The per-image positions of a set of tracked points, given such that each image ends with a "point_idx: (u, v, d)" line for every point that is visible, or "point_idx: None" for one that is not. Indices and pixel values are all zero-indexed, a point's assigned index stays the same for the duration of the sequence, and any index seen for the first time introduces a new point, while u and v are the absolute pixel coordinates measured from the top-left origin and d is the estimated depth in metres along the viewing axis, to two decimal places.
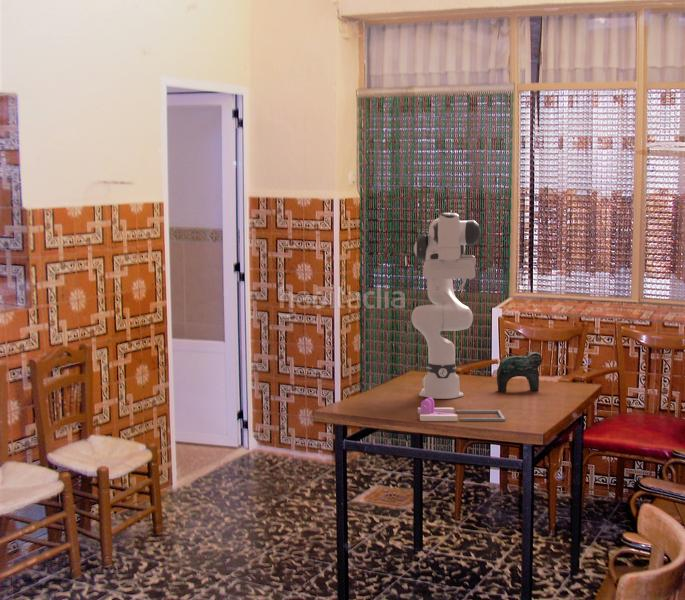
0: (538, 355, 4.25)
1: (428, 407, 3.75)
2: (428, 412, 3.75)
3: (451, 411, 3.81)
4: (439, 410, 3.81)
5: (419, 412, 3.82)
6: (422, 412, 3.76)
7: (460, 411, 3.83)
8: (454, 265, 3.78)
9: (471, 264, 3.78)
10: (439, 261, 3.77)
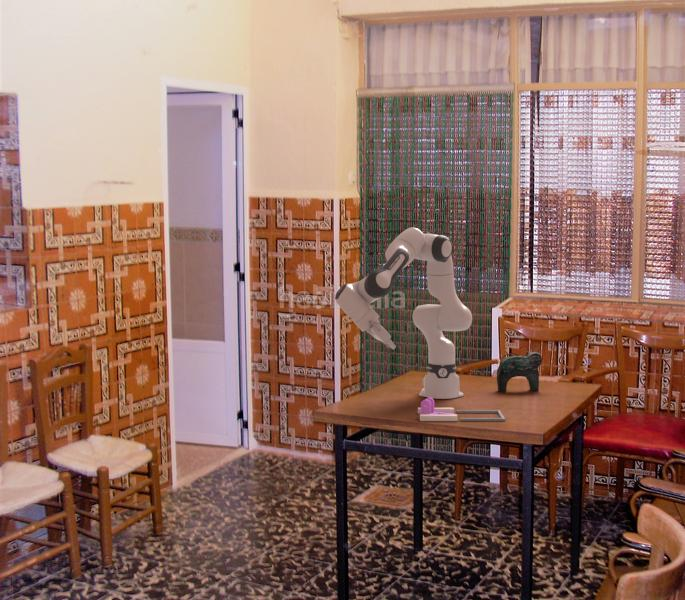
0: (538, 355, 4.25)
1: (428, 407, 3.75)
2: (428, 412, 3.75)
3: (451, 411, 3.81)
4: (439, 410, 3.81)
5: (419, 412, 3.82)
6: (422, 412, 3.76)
7: (460, 411, 3.83)
8: (372, 331, 3.70)
9: (374, 332, 3.64)
10: None
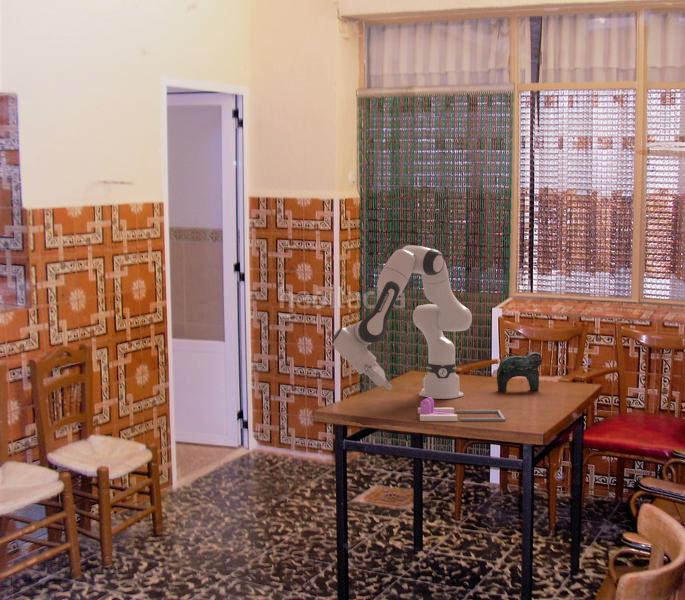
0: (538, 355, 4.25)
1: (428, 407, 3.75)
2: (428, 412, 3.75)
3: (451, 411, 3.81)
4: (439, 410, 3.81)
5: (419, 412, 3.82)
6: (422, 412, 3.76)
7: (460, 411, 3.83)
8: None
9: (369, 377, 3.67)
10: None
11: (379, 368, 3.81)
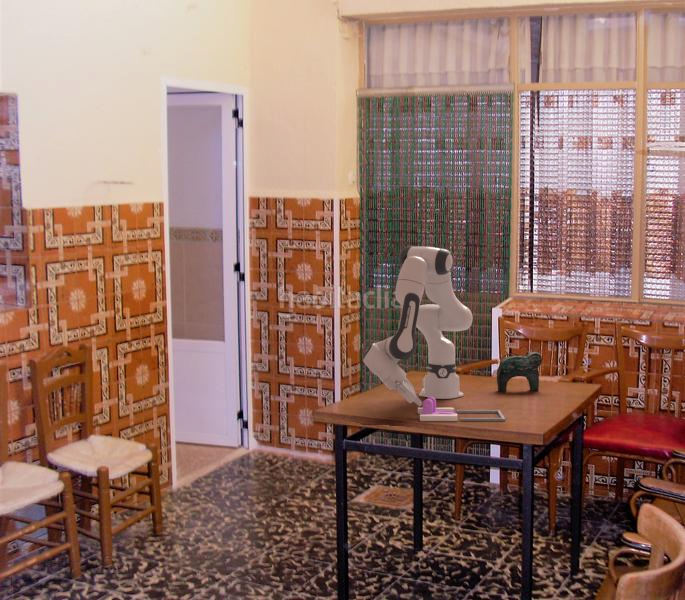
0: (538, 355, 4.25)
1: (430, 406, 3.75)
2: (430, 411, 3.75)
3: (451, 411, 3.81)
4: (439, 410, 3.81)
5: (419, 412, 3.82)
6: (424, 411, 3.76)
7: (460, 411, 3.83)
8: None
9: (400, 393, 3.67)
10: None
11: (409, 384, 3.81)
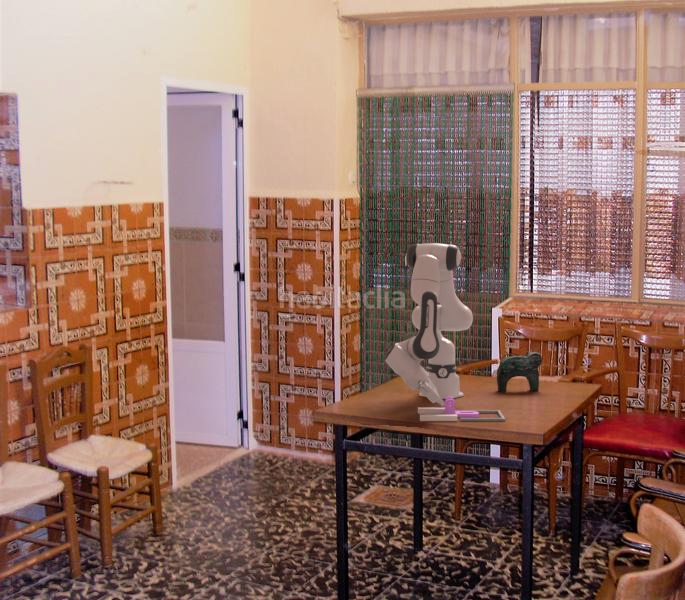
0: (538, 355, 4.25)
1: (453, 406, 3.75)
2: (453, 411, 3.75)
3: None
4: (439, 410, 3.81)
5: (419, 412, 3.82)
6: (447, 412, 3.75)
7: None
8: None
9: (423, 393, 3.67)
10: None
11: (431, 384, 3.81)
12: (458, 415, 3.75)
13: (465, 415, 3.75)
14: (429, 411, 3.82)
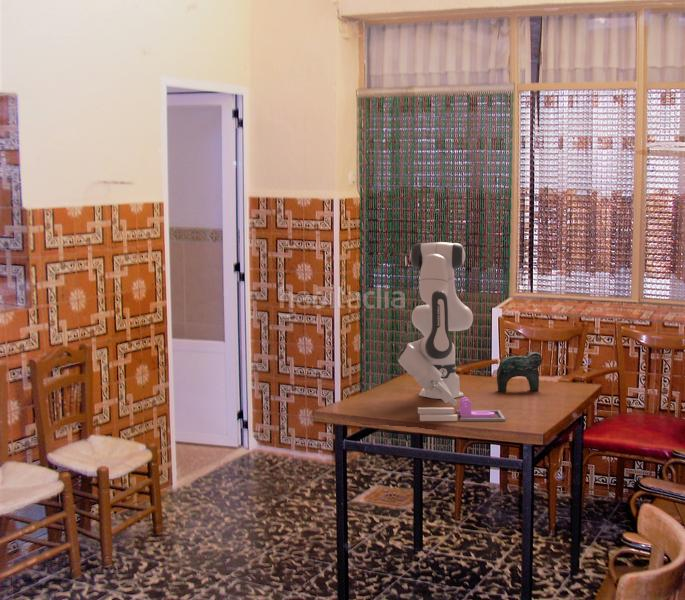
0: (538, 355, 4.25)
1: (469, 407, 3.75)
2: (469, 412, 3.75)
3: (451, 411, 3.81)
4: (439, 410, 3.81)
5: (419, 412, 3.82)
6: (463, 412, 3.75)
7: None
8: None
9: (436, 393, 3.67)
10: None
11: (443, 383, 3.81)
12: (474, 416, 3.75)
13: (481, 415, 3.75)
14: (429, 411, 3.82)
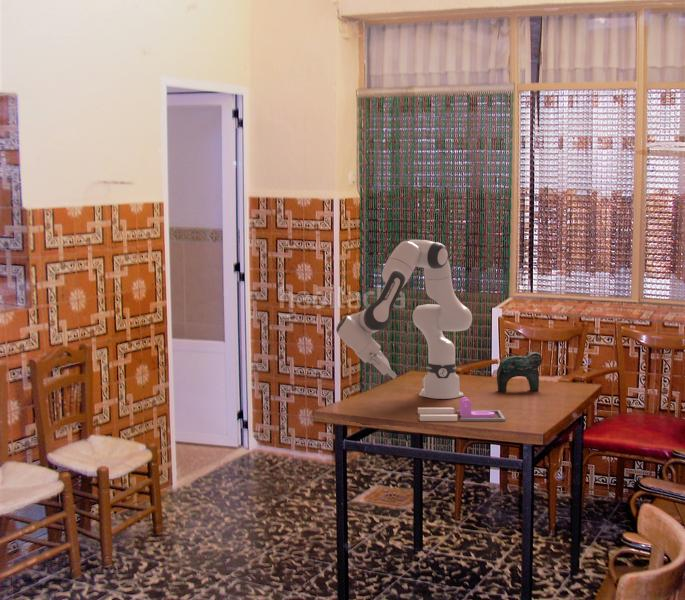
0: (538, 355, 4.25)
1: (469, 407, 3.75)
2: (469, 412, 3.75)
3: (451, 411, 3.81)
4: (439, 410, 3.81)
5: (419, 412, 3.82)
6: (463, 412, 3.75)
7: None
8: None
9: (374, 365, 3.66)
10: None
11: (383, 357, 3.80)
12: (474, 416, 3.75)
13: (481, 415, 3.75)
14: (429, 411, 3.82)
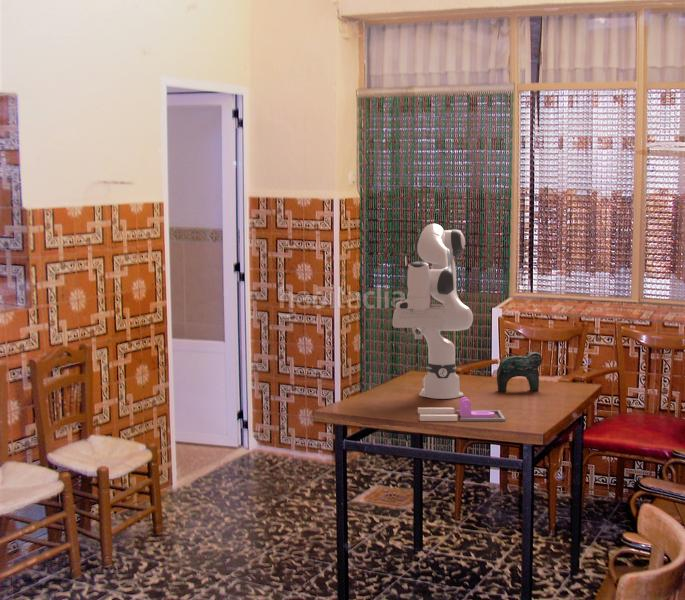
0: (538, 355, 4.25)
1: (469, 407, 3.75)
2: (469, 412, 3.75)
3: (451, 411, 3.81)
4: (439, 410, 3.81)
5: (419, 412, 3.82)
6: (463, 412, 3.75)
7: None
8: (423, 314, 3.78)
9: (441, 314, 3.78)
10: (408, 310, 3.77)
11: None
12: (474, 416, 3.75)
13: (481, 415, 3.75)
14: (429, 411, 3.82)
